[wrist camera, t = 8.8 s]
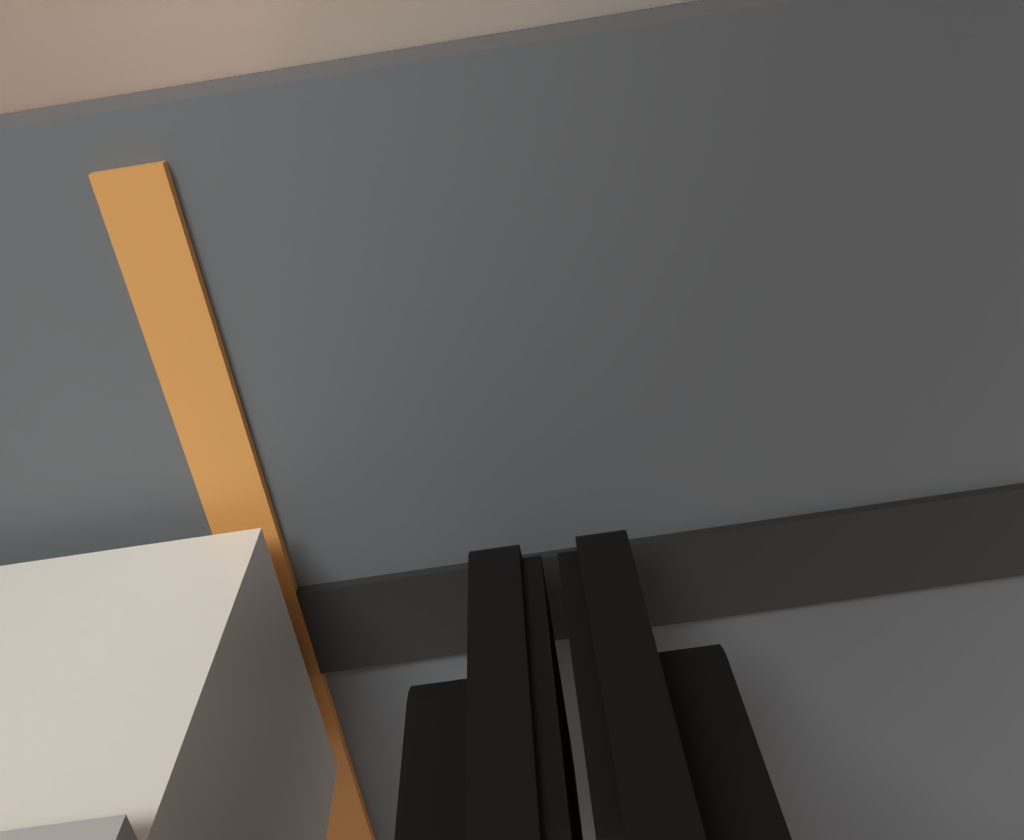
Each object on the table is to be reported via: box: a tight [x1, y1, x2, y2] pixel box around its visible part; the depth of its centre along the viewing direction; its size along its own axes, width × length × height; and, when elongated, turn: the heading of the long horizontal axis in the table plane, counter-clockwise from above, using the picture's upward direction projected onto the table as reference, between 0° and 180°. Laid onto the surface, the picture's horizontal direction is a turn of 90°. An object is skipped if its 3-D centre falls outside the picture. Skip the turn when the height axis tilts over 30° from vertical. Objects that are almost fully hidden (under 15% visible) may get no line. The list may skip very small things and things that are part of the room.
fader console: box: [0, 0, 1024, 840], centre depth 12 cm, size 26×12×2 cm, turn 99°
